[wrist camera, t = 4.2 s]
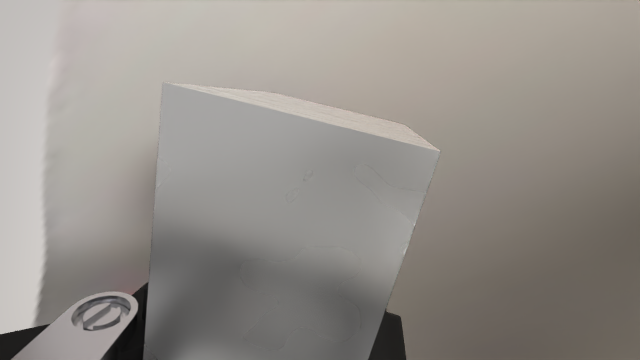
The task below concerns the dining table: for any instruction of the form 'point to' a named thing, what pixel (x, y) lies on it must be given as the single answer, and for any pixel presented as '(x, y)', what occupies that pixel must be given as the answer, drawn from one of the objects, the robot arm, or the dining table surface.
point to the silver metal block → (276, 225)
